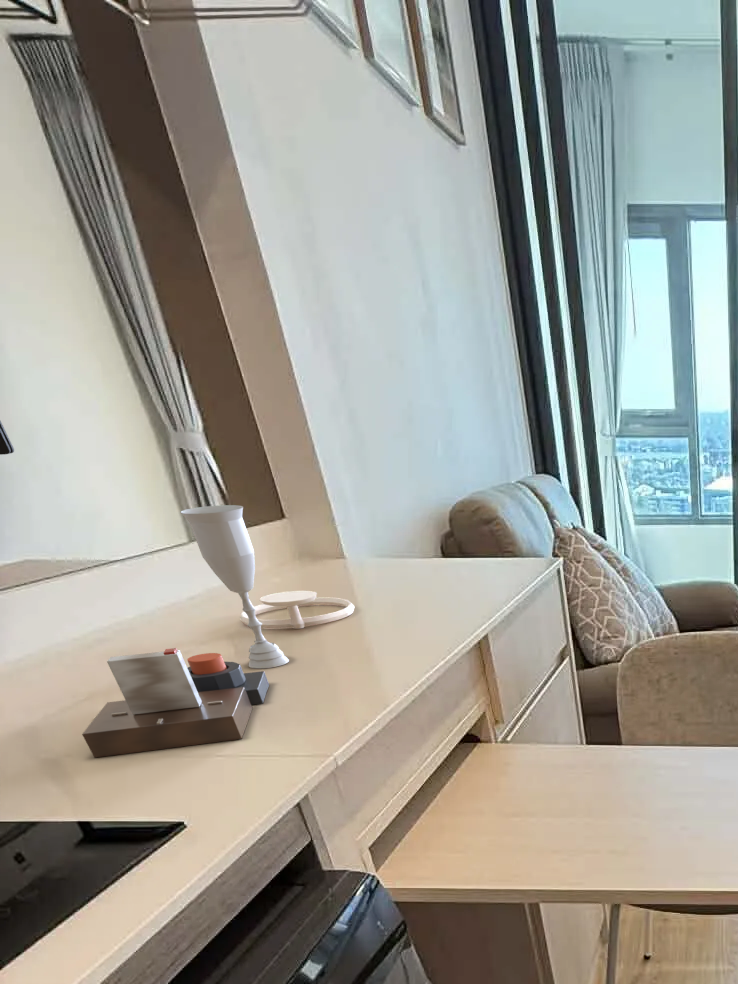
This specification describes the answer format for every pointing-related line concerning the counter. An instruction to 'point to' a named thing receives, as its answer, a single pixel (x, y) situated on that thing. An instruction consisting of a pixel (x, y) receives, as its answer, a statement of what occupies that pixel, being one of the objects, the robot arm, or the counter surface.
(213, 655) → the button
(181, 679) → the grey metal plate
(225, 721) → the block
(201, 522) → the chalice
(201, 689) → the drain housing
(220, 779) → the counter surface
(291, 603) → the hand towel holder
